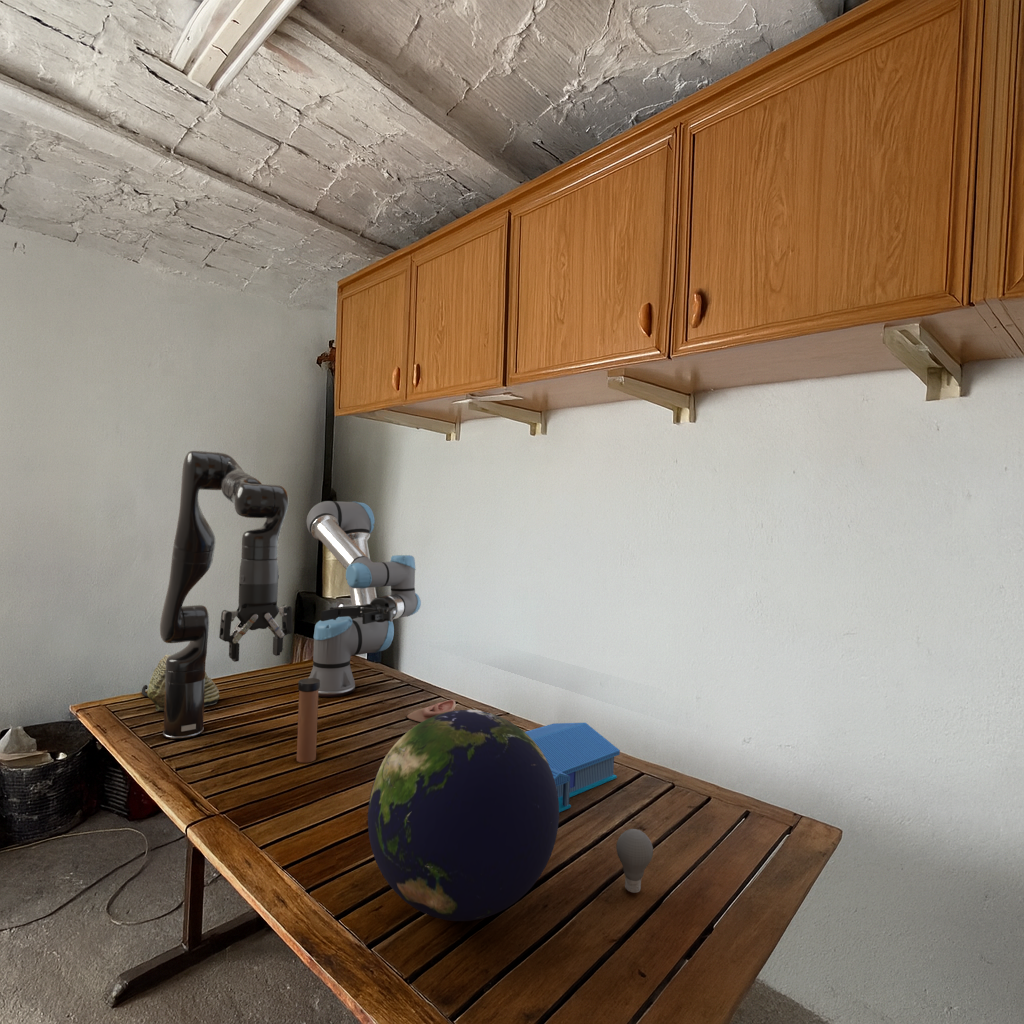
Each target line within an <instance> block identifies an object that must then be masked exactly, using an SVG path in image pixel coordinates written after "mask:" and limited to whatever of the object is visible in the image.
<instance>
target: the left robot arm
mask: <svg viewBox="0 0 1024 1024" xmlns="http://www.w3.org/2000/svg"><path fill="white" fill-rule="evenodd" d="M204 490H206V491H221V493H222V495H223V496H224V497H225V499H227V500H228V501H229V502H231V503H232V504H233V506H234V510H235V512H236V514H237V515H238V516H240V517H242V518H246V519H265V521H264V523H263V524H262V525H261V526H260V527H258V528H253V529H248V530H246V531H244V533H243V534H242V538H241V559H240V566H239V576H238V580H239V581H238V606H237V609H236V610H228V609H223V610H222V611H221V613H220V622H219V623H220V626H219V635H218V638H219V639H220V640H222V641H223V642H228V657H229V659H231V661H232V662H234V663H235V662H240V644H241V643H239V642H240V641H241V639H242V638H243V636H244V635H246V634H247V633H248V631H249V630H250V631H256V630H258V629H260V630H267V628H268V629H269V631H271V633H272V634H273V635H274V636H273V637H272V655H274V656H276V657H277V656H278V657H279V656H280V655H281V653H282V652H283V650H284V648H283V646H284V637H286V636H287V635H291V634H292V633H293V607H292V606H290V605H287V604H282V606H278V594H279V592H278V591H279V579H280V575H279V561H278V560H279V559H278V557H279V539H280V535H281V532H282V527H283V525H284V521H285V518H286V516H287V513H288V509H289V506H290V505H289V504H290V497H289V494H288V491H287V490H286V489H285V487H283V486H282V485H278V484H262V482H261V481H260V480H259V479H257V478H256V477H254V476H252V475H251V474H248V473H246V472H245V471H244V469H243V468H242V467H241V466H240V465H239V463H238V462H237V461H236V460H235V459H234V458H233V457H232V456H231V455H229V454H227V453H224V452H216V451H205V450H204V451H203V450H191V451H188V452H187V453H186V455H185V457H184V460H183V463H182V471H181V483H180V500H179V509H178V510H179V512H178V518H177V524H176V530H175V535H174V542H173V546H172V554H171V563H170V564H171V565H170V572H169V579H168V586H167V590H166V594H165V599H164V603H163V608H162V611H161V616H160V622H159V634H160V635H159V636H160V638H161V640H162V641H163V642H164V643H166V644H178V643H188V644H187V645H186V646H184V647H183V648H182V649H180V650H179V651H177V652H175V653H173V654H170V655H171V656H169V657H168V658H167V660H166V674H165V705H164V710H163V731H162V737H164V738H166V739H169V740H185V739H190V738H191V739H192V738H194V737H197V736H199V735H202V734H203V732H204V730H205V729H204V722H205V721H204V718H205V706H204V693H205V672H206V664H207V663H206V660H207V653H208V640H209V633H210V631H209V630H210V615H209V614H210V613H209V610H208V609H207V607H206V606H205V605H203V604H194V605H193V604H192V605H183V604H184V603H185V600H186V598H187V596H188V595H189V593H190V592H191V590H192V589H193V588H194V587H195V586H196V585H197V584H198V583H199V581H200V580H201V579H202V578H203V577H204V576H205V575H206V573H208V571H209V570H210V568H211V566H212V564H213V561H214V554H215V548H216V536H215V534H214V531H213V529H212V526H210V524H209V522H208V521H207V519H206V517H205V516H204V513H203V511H202V508H201V507H200V506H201V505H200V503H199V492H200V491H204ZM278 615H279V616H281V626H282V627H281V628H280V626H279V624H278V623H277V622H276V620H275V619H276V617H277V616H278ZM235 618H237V619H238V622H237V624H236V626H234V629H233V631H231V630H232V623H233V622H234V621H235ZM142 686H143V687H142V688H141V695H142V696H144V697H146V698H149V697H148V695H147V694H148V692H146V690H148V688H149V685H147V684H144V685H142Z"/></svg>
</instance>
